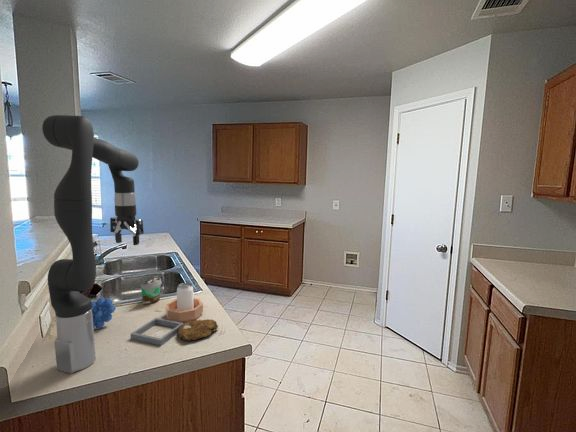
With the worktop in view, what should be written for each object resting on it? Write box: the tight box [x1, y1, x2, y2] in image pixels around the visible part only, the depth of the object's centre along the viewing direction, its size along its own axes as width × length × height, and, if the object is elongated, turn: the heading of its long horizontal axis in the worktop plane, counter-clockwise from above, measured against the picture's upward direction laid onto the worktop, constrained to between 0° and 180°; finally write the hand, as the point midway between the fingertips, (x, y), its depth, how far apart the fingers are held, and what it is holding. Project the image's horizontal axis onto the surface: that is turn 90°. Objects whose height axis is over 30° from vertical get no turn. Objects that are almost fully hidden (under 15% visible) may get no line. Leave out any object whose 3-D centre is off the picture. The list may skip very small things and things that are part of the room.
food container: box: [140, 275, 163, 306], centre depth 144 cm, size 12×6×10 cm, turn 179°
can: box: [176, 282, 194, 312], centre depth 130 cm, size 6×6×12 cm
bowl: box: [165, 297, 204, 323], centre depth 131 cm, size 14×14×4 cm
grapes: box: [91, 296, 116, 330], centre depth 119 cm, size 12×7×12 cm, turn 133°
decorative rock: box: [176, 319, 219, 342], centre depth 117 cm, size 11×4×15 cm
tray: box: [130, 317, 185, 346], centre depth 116 cm, size 13×13×2 cm
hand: (127, 243), depth 127 cm, fingers open, 8 cm apart
